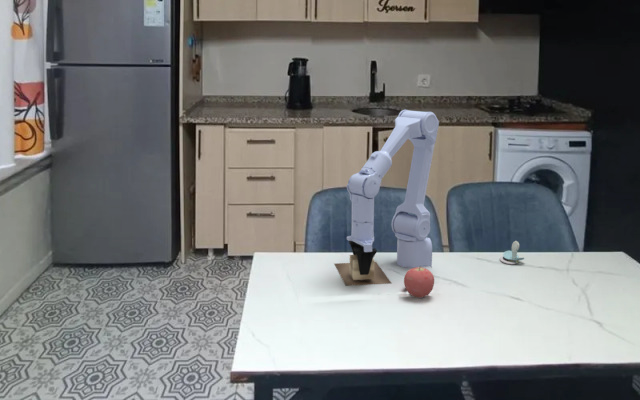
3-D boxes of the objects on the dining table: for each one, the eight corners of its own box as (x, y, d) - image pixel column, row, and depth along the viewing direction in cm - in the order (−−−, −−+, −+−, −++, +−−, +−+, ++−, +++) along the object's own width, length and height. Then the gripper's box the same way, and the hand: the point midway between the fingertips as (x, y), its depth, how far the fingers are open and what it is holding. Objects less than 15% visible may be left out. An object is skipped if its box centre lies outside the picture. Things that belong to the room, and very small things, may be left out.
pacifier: (506, 267, 192) (526, 265, 193) (507, 245, 190) (527, 244, 191) (495, 259, 199) (514, 257, 200) (496, 238, 197) (515, 237, 198)
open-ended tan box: (369, 272, 179) (369, 254, 178) (374, 278, 174) (374, 260, 173) (349, 273, 178) (349, 254, 177) (353, 279, 173) (353, 261, 172)
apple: (410, 289, 173) (411, 259, 172) (437, 294, 170) (439, 264, 168) (398, 298, 167) (399, 267, 165) (426, 303, 163) (427, 272, 162)
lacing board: (375, 266, 191) (376, 246, 190) (391, 288, 174) (392, 266, 172) (334, 268, 189) (334, 248, 188) (345, 291, 172) (345, 268, 171)
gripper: (342, 213, 179) (341, 262, 182) (352, 228, 165) (352, 280, 168) (368, 212, 180) (367, 261, 183) (380, 227, 166) (379, 279, 169)
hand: (361, 270), depth 176 cm, fingers closed on open-ended tan box, 5 cm apart
